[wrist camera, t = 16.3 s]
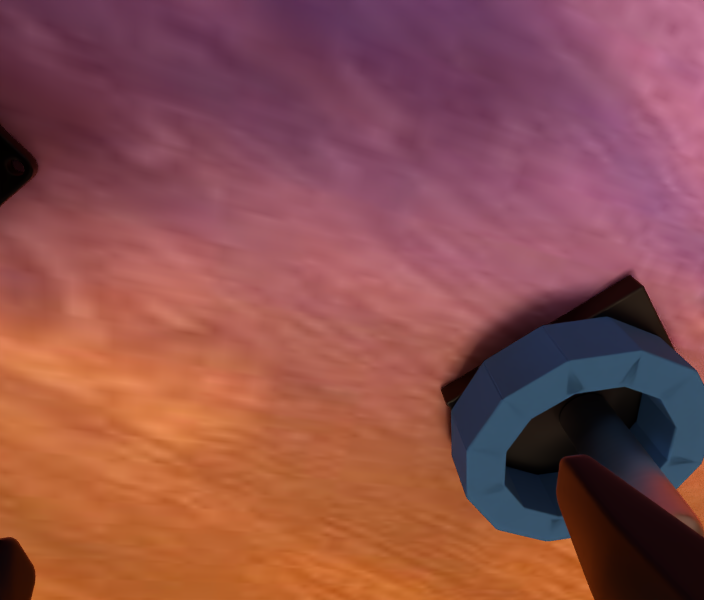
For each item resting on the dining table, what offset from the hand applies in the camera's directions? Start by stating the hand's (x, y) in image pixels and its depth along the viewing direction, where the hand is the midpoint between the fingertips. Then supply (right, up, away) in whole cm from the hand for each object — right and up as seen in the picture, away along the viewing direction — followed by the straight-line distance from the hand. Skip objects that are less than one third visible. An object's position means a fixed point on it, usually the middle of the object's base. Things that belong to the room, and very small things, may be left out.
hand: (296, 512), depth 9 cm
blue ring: (+10, -2, +15) cm, 18 cm away
